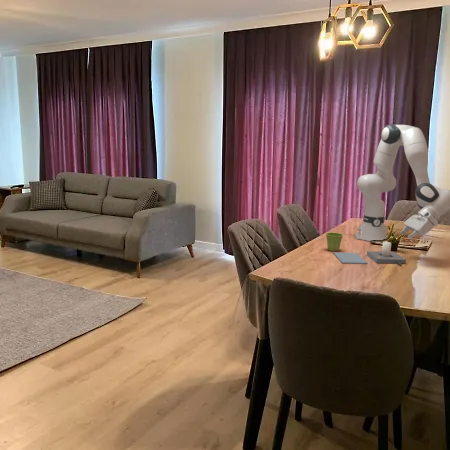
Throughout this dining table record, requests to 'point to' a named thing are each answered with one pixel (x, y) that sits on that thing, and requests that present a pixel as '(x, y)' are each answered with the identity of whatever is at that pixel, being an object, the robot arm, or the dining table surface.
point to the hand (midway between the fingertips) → (405, 235)
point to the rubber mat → (349, 258)
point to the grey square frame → (379, 259)
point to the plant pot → (333, 241)
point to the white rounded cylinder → (386, 249)
